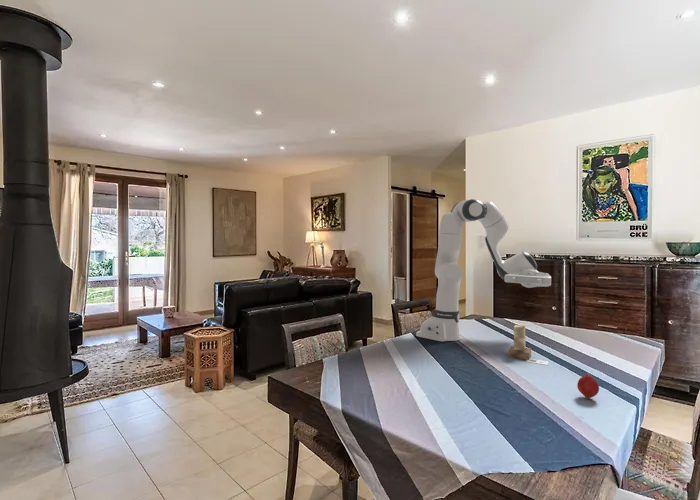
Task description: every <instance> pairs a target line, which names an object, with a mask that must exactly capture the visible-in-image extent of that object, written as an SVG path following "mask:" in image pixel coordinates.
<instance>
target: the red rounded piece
mask: <svg viewBox="0 0 700 500" xmlns="http://www.w3.org/2000/svg"><path fill="white" fill-rule="evenodd" d="M591 375H592V374H590V373H586V374H585V375H584V376H581V377H580V378H579V379H578V381H577V385H576V386H577V390H578V391H579V392H580V393H581V394H582V395H583V397H584V398H586V399H591V398H594V397H596V396H597V395H598V394H599V392H600V386H599V383H598V382H597V380H596V378H594V377H593V376H591Z"/></svg>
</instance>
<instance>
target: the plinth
mask: <svg viewBox="0 0 700 500" xmlns="http://www.w3.org/2000/svg"><path fill="white" fill-rule="evenodd" d="M531 357H532V348H531V347H526V349H525V351H519V350H514V345H511V346H510V347H509V348H508V358H511V359H519V360H525V361H526V360H529V359H531Z"/></svg>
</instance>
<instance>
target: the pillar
mask: <svg viewBox="0 0 700 500" xmlns="http://www.w3.org/2000/svg"><path fill="white" fill-rule="evenodd" d="M513 346H514V350H519V351H525V349H526V348H527V347H526V325H522V324H515V325H514V326H513Z"/></svg>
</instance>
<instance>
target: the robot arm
mask: <svg viewBox="0 0 700 500" xmlns="http://www.w3.org/2000/svg"><path fill="white" fill-rule="evenodd" d="M475 221H479V222H480V223H481V225H482V226H483V228H484V229H485V232H486V236H485V237H484V240H485V241H484V242H485V244H486V248H487V249H488V252H489V254H490V257H491V259H492V260H493V261H492V262H493V263H494V266H495V268H496V271H497V274H498V276H499V277H500V278H501V280H504V282H505V283H510V284H511V283H512V284H513V283H514V284H521V286H523V287H525V288H528V289H530V288H537V287H538V288H540V287H541V288H542V287H545V288H547V287H550V286H552V276H551V275H550V274H549V273H547V272H542V271H538V270H537V269H538V264H537V262H536V260H535V258H534V257H533V255H531V253H529V252H527V251H520V252H519V253H516V254H515V255H513V256H510V257H509V258H507V259H505V260H503V259H502V257H501V254H500V252H499V250H498V244H499V243H500V241H502V239H504V237H506V236H505V235H506V234H507V232H508V230H509V222H508V219H506V217H505V215H504V213H503V212H502V211H501V210H500V209H499V208H498V207H497V205H496V204H494V202H492V201H484V202H481V201H480V200H479V199H478V200H477V199H474V198H472V199H463V200H460V201H458V202H457V203H455V204H454V205H453V207H452V209H451V210H450V211H449V212H445V213H444V214H443V215H442V216H441V220H440V224H439V229H438V243H437V245H438V247H437V253H436V257H435V258H436V260H435V265H434V266H435V267H434V275H435V277H436V278H437V279H438V282H437V284H438V285H437V289H436V296H435V297H436V298H435V301H436V303H435V308H434V309H433V310H431V316H430V317H428V318H427V319H425V321H423V322H422V324H420V330H418V331H416V333H415V336H416V337H419V338H423V339H428V340H431V341H432V340H433V341H438V342H450V341H451V342H454V341H460V340H461V339H462V336H461V332H460V326H459V322H460V310H459V299H460V298H459V297H460V290H461V286H462V283H461V282H462V279H463V274H464V273H463V270H462V267H461V266H460V265H459V264H458V261H459V255H460V252H461V250H462V249H461V248H462V246H461V245H462V231H463V230H462V229H463V225H464V223H468V222H469V223H470V222H475Z"/></svg>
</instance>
